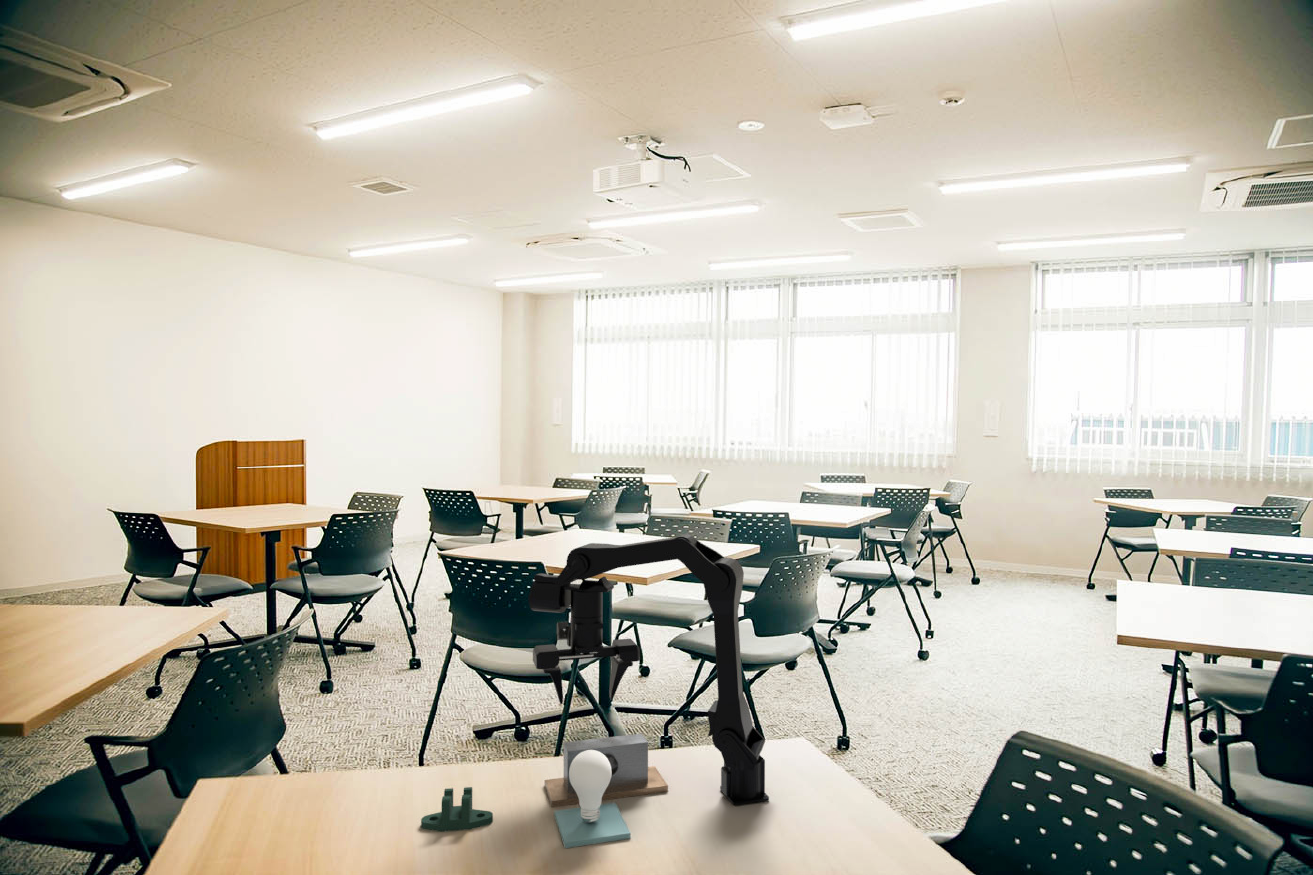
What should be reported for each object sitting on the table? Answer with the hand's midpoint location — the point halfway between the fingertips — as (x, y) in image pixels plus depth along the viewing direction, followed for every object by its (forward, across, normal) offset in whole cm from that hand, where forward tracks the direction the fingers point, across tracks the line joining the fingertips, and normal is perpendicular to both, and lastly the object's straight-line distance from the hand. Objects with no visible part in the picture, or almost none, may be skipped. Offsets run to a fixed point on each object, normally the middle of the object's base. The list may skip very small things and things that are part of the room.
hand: (586, 700), depth 138 cm
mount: (+13, +23, +12) cm, 29 cm away
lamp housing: (+13, -2, +7) cm, 15 cm away
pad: (+13, +3, +19) cm, 23 cm away
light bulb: (+12, +3, +19) cm, 23 cm away
